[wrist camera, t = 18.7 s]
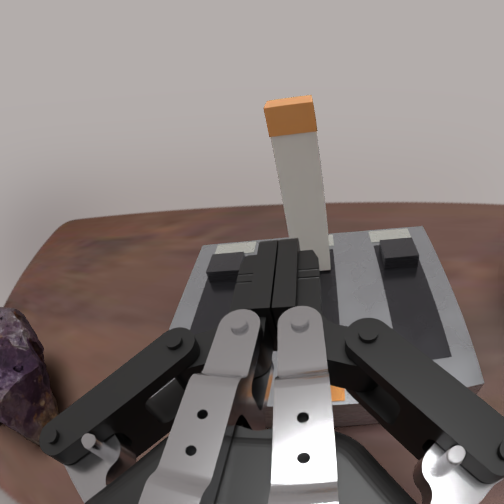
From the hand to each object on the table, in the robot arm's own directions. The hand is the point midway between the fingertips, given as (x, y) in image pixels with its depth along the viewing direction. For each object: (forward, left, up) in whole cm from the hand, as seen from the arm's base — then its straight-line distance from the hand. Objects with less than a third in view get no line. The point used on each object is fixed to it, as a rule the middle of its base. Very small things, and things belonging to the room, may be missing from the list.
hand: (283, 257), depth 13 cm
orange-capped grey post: (-1, -7, -6) cm, 10 cm away
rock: (+22, +5, -10) cm, 24 cm away
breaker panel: (-1, -4, -9) cm, 10 cm away
